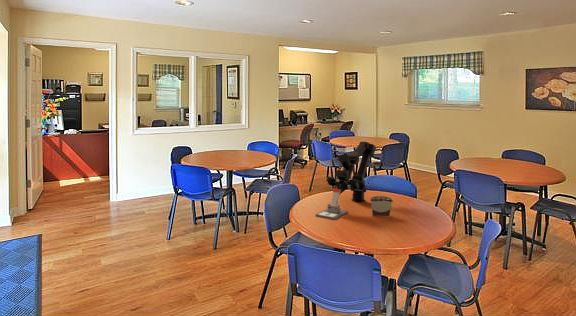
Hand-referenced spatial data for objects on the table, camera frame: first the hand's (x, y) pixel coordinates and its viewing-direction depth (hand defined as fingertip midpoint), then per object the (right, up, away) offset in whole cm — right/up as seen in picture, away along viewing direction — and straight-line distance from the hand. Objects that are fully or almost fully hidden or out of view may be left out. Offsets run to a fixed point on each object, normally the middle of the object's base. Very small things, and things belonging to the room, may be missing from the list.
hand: (337, 194), depth 241 cm
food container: (+23, -11, -5) cm, 26 cm away
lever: (-3, -7, -3) cm, 8 cm away
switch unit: (-4, -10, -4) cm, 12 cm away
